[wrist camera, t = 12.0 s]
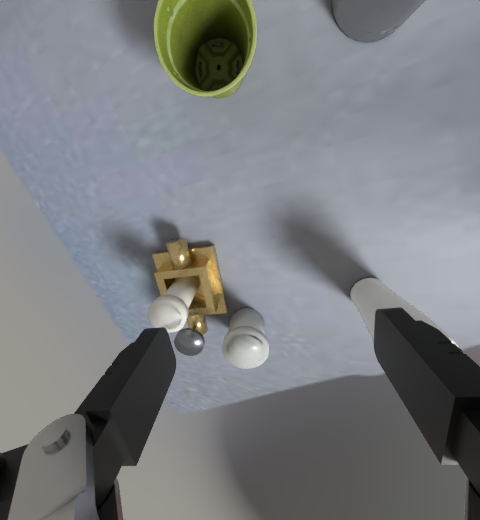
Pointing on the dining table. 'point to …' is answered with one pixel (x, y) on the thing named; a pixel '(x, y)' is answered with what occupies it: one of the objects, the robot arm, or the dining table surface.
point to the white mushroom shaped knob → (173, 304)
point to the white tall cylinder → (383, 304)
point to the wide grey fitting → (246, 339)
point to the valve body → (207, 296)
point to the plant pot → (205, 43)
